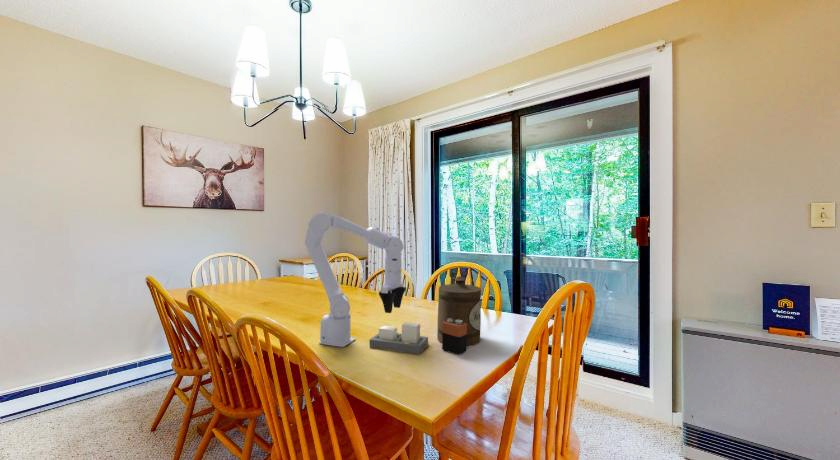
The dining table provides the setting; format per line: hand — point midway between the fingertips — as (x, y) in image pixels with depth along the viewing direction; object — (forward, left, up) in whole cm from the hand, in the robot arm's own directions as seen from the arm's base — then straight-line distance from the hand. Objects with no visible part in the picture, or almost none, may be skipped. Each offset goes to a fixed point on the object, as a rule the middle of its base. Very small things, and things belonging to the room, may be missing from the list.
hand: (392, 309), depth 118 cm
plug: (+9, -6, -9) cm, 14 cm away
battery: (+23, -4, -10) cm, 25 cm away
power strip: (+5, -6, -10) cm, 13 cm away
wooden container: (+22, +7, -10) cm, 25 cm away
